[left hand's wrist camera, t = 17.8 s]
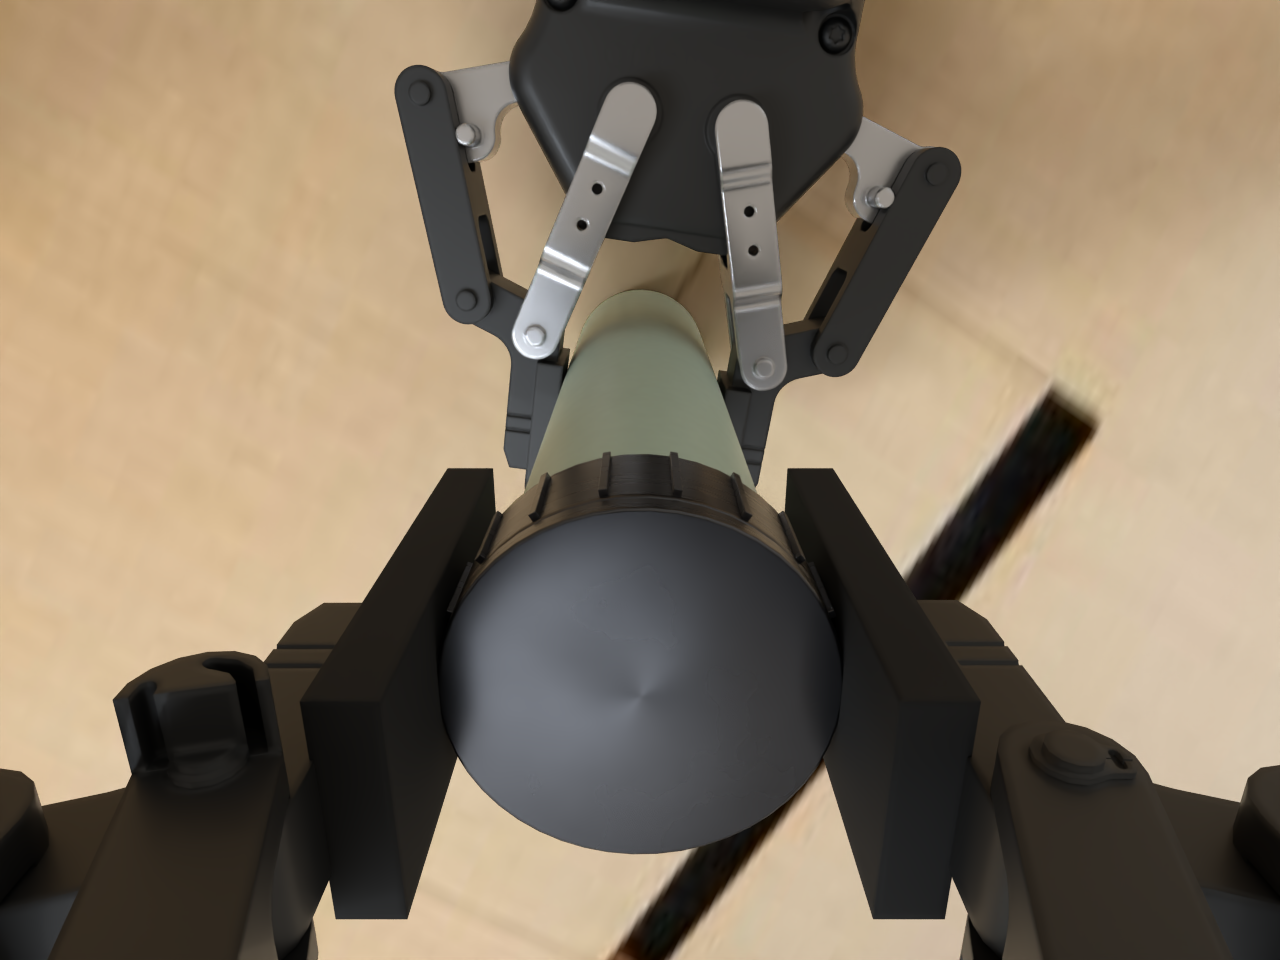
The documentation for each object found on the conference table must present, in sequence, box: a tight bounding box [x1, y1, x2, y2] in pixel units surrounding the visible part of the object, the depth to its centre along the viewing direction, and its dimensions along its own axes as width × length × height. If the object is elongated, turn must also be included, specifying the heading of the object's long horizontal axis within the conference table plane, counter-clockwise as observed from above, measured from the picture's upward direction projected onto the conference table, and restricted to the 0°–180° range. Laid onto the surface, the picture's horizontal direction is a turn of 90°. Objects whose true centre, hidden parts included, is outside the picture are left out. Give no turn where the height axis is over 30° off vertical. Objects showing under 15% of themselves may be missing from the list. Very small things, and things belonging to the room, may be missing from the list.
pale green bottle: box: [524, 290, 757, 493], centre depth 20 cm, size 4×4×19 cm
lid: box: [437, 452, 843, 854], centre depth 11 cm, size 5×5×2 cm
